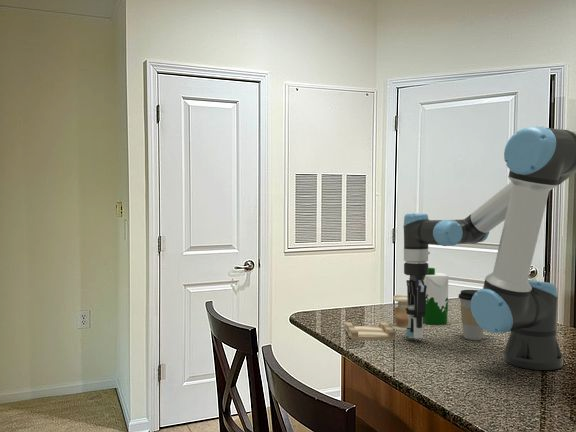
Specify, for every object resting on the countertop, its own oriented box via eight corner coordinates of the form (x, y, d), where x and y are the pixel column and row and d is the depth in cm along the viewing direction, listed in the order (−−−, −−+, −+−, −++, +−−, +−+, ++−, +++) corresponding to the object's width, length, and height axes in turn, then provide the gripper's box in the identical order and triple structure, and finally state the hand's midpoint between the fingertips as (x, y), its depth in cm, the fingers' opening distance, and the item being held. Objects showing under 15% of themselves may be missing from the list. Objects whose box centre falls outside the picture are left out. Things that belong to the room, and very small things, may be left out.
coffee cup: (490, 342, 173) (491, 294, 173) (459, 340, 175) (459, 293, 175) (485, 334, 183) (486, 289, 182) (456, 333, 184) (456, 288, 184)
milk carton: (419, 320, 203) (419, 266, 202) (443, 320, 203) (444, 266, 202) (424, 326, 194) (425, 269, 193) (450, 326, 194) (451, 270, 193)
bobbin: (420, 331, 186) (421, 299, 186) (394, 331, 186) (395, 299, 185) (413, 325, 195) (413, 294, 195) (388, 325, 195) (388, 294, 194)
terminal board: (395, 340, 175) (395, 331, 175) (351, 340, 174) (351, 332, 174) (384, 329, 189) (385, 321, 189) (344, 329, 188) (344, 322, 188)
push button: (426, 335, 176) (426, 304, 176) (427, 339, 171) (428, 307, 171) (405, 334, 177) (405, 304, 177) (406, 339, 172) (406, 307, 172)
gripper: (436, 264, 166) (436, 342, 166) (419, 259, 182) (420, 330, 182) (411, 265, 165) (412, 342, 166) (397, 259, 182) (397, 330, 182)
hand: (416, 336), depth 174 cm, fingers closed on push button, 3 cm apart
